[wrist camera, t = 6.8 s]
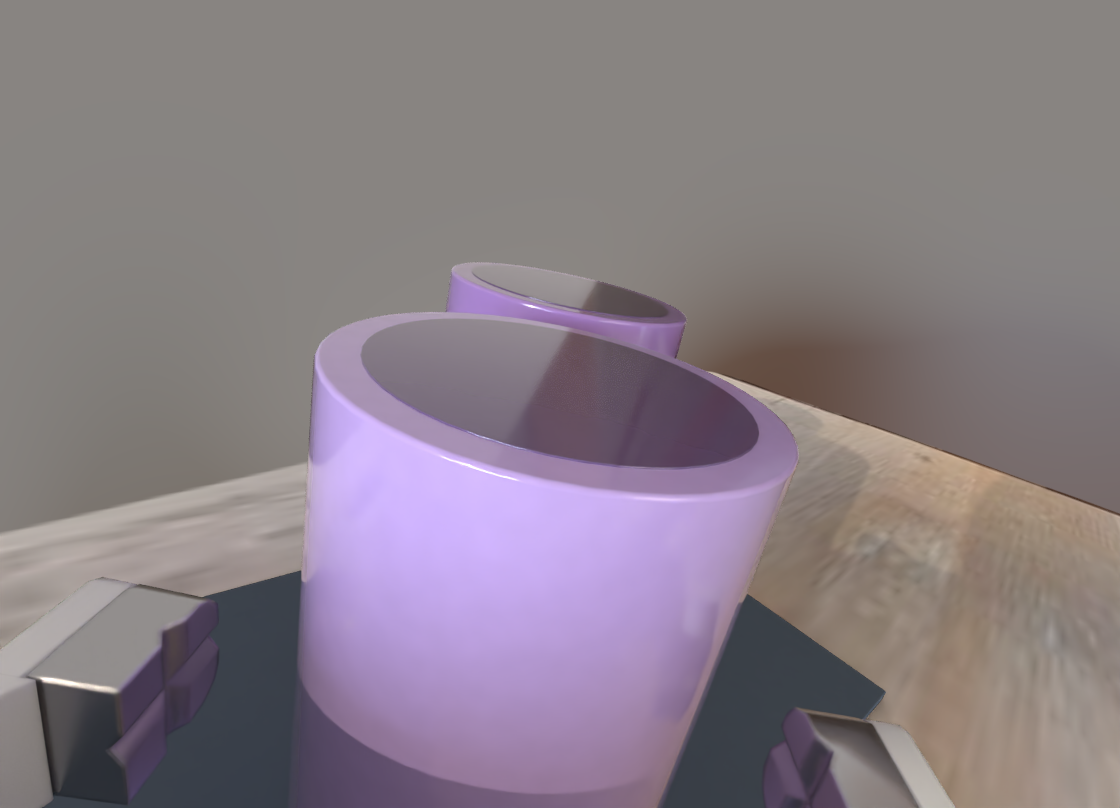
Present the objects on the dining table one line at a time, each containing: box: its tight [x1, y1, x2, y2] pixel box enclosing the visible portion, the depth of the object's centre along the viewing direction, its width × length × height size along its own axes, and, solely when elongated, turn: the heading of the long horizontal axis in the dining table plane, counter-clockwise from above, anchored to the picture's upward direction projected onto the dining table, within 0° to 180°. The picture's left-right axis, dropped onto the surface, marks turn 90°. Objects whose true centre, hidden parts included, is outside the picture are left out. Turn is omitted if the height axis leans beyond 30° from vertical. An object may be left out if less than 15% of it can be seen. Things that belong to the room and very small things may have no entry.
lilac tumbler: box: [287, 312, 799, 808], centre depth 9 cm, size 6×6×10 cm
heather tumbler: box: [446, 262, 687, 359], centre depth 17 cm, size 6×6×10 cm
